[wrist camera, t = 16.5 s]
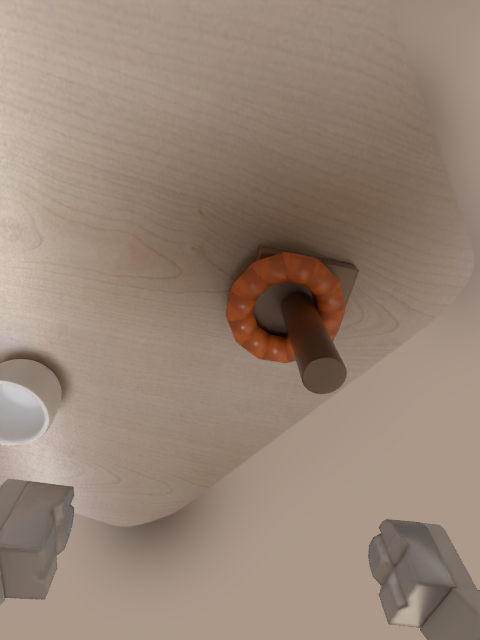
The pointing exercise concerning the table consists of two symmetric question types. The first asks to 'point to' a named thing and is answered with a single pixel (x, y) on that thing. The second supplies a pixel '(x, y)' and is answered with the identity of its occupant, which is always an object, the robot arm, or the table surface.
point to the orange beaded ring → (271, 274)
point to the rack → (305, 325)
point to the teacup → (26, 401)
